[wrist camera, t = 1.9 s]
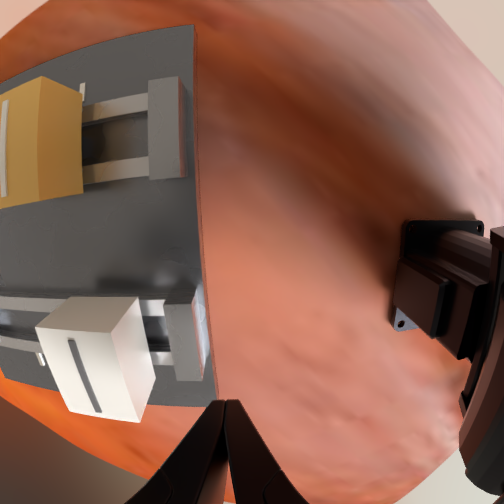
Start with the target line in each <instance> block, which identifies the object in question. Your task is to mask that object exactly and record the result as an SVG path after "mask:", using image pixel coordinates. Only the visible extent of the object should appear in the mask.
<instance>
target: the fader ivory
mask: <svg viewBox="0 0 504 504" xmlns="http://www.w3.org/2000/svg"><path fill="white" fill-rule="evenodd" d="M35 330H36V333H37V336H38V338H39V341H40V344H41V347H42V350H43V352H44V355H45V357H46V360H47V363H48V365H49V368H50V370H51V372H52V375H53V377H54V379H55V382H56V384H57V386H58V388H59V391H60V393H61V395H62V397H63V399H64V401H65V403H66V405H67V407H68V409H69V411H71V412H75V413H80V414H85V415H91V416H96V417H102V418H108V419H115V420H122V421H129V422H138V423H140V421H141V418H142V415H143V412H144V410H145V407H146V404H147V401H148V398H149V396H150V393H151V390H152V387H153V385H154V382H155V379H156V377H155V373H154V369H153V365H152V361H151V357H150V353H149V348H148V344H147V339H146V335H145V330H144V325H143V320H142V315H141V310H140V305H139V299H138V297H72V296H71V297H70V298H68V299H67V300H66V301H65V302H63V303H62V304H61V305H60V306H59V307H57V308H56V309H55V310H54V311H53V312H51V313H50V314H49V315H48V316H47V317H46V318H44V319H43V320H42V321H41V322H40V323H39V324H37V325H36V326H35Z"/></svg>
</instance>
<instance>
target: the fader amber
mask: <svg viewBox="0 0 504 504" xmlns="http://www.w3.org/2000/svg"><path fill="white" fill-rule="evenodd" d="M82 99H83V94H82V93H79V92H77V91H75V90H73V89H71V88H68V87H66V86H64V85H62V84H60V83H57V82H55V81H53V80H50V79H48V78H46V77H43V76H40V77H38V78H36V79H33V80H31V81H29V82H26V83H24V84H22V85H20V86H18V87H16V88H13V89H11V90H9V91H7V92H5V93H3V94H1V95H0V209H2V208H7V207H11V206H16V205H21V204H26V203H32V202H37V201H42V200H48V199H53V198H59V197H64V196H70V195H76V194H82V193H83V178H82V151H81V125H82Z"/></svg>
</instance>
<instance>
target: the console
mask: <svg viewBox="0 0 504 504" xmlns="http://www.w3.org/2000/svg"><path fill="white" fill-rule="evenodd" d="M40 76H43V77H46V78H48V79H50V80H53V81H55V82H57V83H60V84H62V85H64V86H66V87H68V88H71V89H73V90H75V91H77V92H79V93H82V94H83V99H82V125H81V151H82V178H83V193H82V194H76V195H70V196H64V197H59V198H53V199H48V200H42V201H37V202H32V203H26V204H21V205H16V206H11V207H7V208H2V209H0V367H1V370H2V372H3V374H4V376H5V378H7V379H11V380H14V381H18V382H21V383H25V384H29V385H33V386H37V387H41V388H45V389H49V390H54V391H58V392H60V391H59V388H58V386H57V384H56V382H55V379H54V377H53V375H52V372H51V370H50V368H49V365H48V363H47V360H46V357H45V355H44V352H43V350H42V347H41V344H40V341H39V338H38V336H37V333H36V330H35V326H36V325H37V324H39V323H40V322H41V321H42V320H43V319H44V318H46V317H47V316H48V315H49V314H50V313H51V312H53V311H54V310H55V309H56V308H57V307H59V306H60V305H61V304H62V303H63V302H65V301H66V300H67V299H68V298H70V297H71V296H72V297H138V299H139V305H140V310H141V315H142V320H143V325H144V330H145V335H146V339H147V344H148V348H149V353H150V357H151V361H152V365H153V369H154V373H155V377H156V379H155V382H154V385H153V387H152V390H151V393H150V396H149V398H148V401H147V404H150V405H165V406H188V407H208V405H209V404H210V403H211V401H212V400H219V390H218V383H217V375H216V367H215V359H214V351H213V343H212V334H211V325H210V315H209V305H208V295H207V284H206V273H205V261H204V248H203V235H202V220H201V203H200V185H199V163H198V133H197V33H196V30H195V26H194V24H193V25H184V26H177V27H170V28H164V29H158V30H152V31H147V32H142V33H138V34H133V35H129V36H124V37H120V38H116V39H113V40H109V41H105V42H102V43H98V44H95V45H92V46H88V47H85V48H82V49H79V50H76V51H73V52H71V53H68V54H65V55H62V56H60V57H57V58H55V59H52V60H50V61H47V62H45V63H42V64H40V65H38V66H35V67H33V68H31V69H29V70H27V71H24V72H22V73H20V74H18V75H16V76H14V77H12V78H10V79H8V80H6V81H4V82H3V83H1V84H0V95H1V94H3V93H5V92H7V91H9V90H11V89H13V88H16V87H18V86H20V85H22V84H24V83H26V82H29V81H31V80H33V79H36V78H38V77H40Z"/></svg>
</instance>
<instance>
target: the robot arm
mask: <svg viewBox="0 0 504 504" xmlns="http://www.w3.org/2000/svg"><path fill="white" fill-rule="evenodd" d="M411 225H413V230H412V232H410V231H409V229H410V226H411ZM477 227H478V229H477ZM483 235H484V224H483V222H482V221H479V220H472V219H407V220H406V221H405V222H404V223H403V225H402V234H401V248H400V258H399V260H398V263H397V273H396V282H395V290H394V297H393V304H394V308H393V314H392V320H391V325H392V327H393V328H394V329H395V330H396V331H405V330H410V329H416V328H420V329H421V330H422V331H423V332H424V333H425V334H426V335H427V336H428V337H429V338H431V339H436V340H437V341H438V342H439V343H441V344H442V345H443V346H444V347H445V348H446V349H447V350H448V351H449V352H450V353H451V354H452V355H453V356H454V357H455V358H456V359H457V360H461V359H464V358H466V359H467V360H468V361H469V362H470V363H471V364H472V365H471V369H470V372H469V376H468V379H467V382H466V385H465V388H464V390H463V391H462V392H461V395H460V398H459V405H460V408H461V412H462V415H463V422H462V425H461V428H460V431H459V451H460V453H461V456H462V458H463V461H464V464H465V467H466V470H465V474H466V476H467V478H468V479H469V480H470V481H471V482H472V483H473V484H474V485H475V486H477V487H478V488H480V489H482V490H484V491H485V492H487V493H490V494H493V495H498V496H500V497H499V498H498V499H497V500H496V501H495V502H494V503H493V504H504V226H502V227H497V228H492V229H490V239H488V238H485V237H483ZM401 320H402V321H401ZM399 321H401V323H400V324H398V322H399ZM228 462H229V466H230V472H231V478H232V484H233V489H234V495H235V500H236V504H309V503H308V502H307V501H306V500H305V499H304V498H303V497H302V495H301V494H300V493H299V492H298V491H297V490H296V489H295V487H294V486H293V485H292V483H291V482H290V480H289V479H288V478H287V476H286V475H285V473H284V472H283V470H281V467H280V466H279V464H278V463H277V461H276V460H275V458H274V457H273V455H272V453H271V452H270V450H269V449H268V447H267V445H266V444H265V442H264V441H263V439H262V437H261V436H260V434H259V432H258V431H257V429H256V428H255V426H254V424H253V423H252V421H251V419H250V417H249V416H248V414H247V412H246V411H245V409H244V407H243V405H242V404H241V402H240V400H238V399H230V400H226V401H225V400H212V401H211V403H210V404H209V405H208V407H207V408H206V409H205V411H204V412H203V413H202V415H201V416H200V417H199V418H198V420H197V421H196V422H195V424H194V425H193V426H192V428H191V429H190V430H189V431H188V433H187V434H186V435H185V437H184V438H183V439H182V440H181V442H180V443H179V444H178V445H177V447H176V448H175V449H174V451H173V452H172V453H171V454H170V456H169V457H168V458H167V459H166V460H165V462H164V463H163V464H162V465H161V467H160V469H158V470H157V471H156V472H155V474H154V475H153V476H152V477H151V478H150V479H149V481H148V482H147V483H146V484H145V485H144V486H143V487H142V488H141V489H140V490H139V491H138V492H137V493H136V494H135V495H133V496H132V497H131V498H130V499H129V500H128V501H127V502H125V503H124V504H223V501H224V494H225V486H226V479H227V471H228Z"/></svg>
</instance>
